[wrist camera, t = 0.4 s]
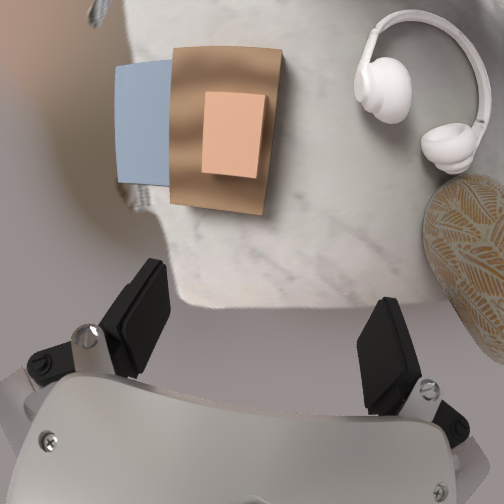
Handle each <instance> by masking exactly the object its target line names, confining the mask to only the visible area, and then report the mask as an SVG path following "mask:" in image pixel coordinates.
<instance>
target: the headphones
mask: <svg viewBox="0 0 504 504" xmlns="http://www.w3.org/2000/svg"><path fill="white" fill-rule="evenodd" d="M404 21H419V22H424V23H428V24H431V25H433V26H436V27H438V28H440V29H442V30H443V31H445V32H446V33H448V34H449V35H450V36H452V37H453V38H454V39H455V40H456V41H457V43H458V44H459V45H460V46H461V47H462V49H463V50H464V52H465V53H466V55H467V57H468V59H469V61H470V63H471V65H472V67H473V70H474V73H475V76H476V80H477V84H478V91H479V107H478V113H477V117H476V120H475V122H474V123H473V126H472V129H471V128H470V127H469V126H468V125H467V124H463V123H451V124H446V125H442V126H439V127H436V128H434V129H432V130H430V131H429V132H427V133H426V134H425V135H424V136H423V137H422V138H421V148H422V151H423V153H424V155H425V156H426V158H427V159H428V160H429V161H431V162H433V163H435V166H436V167H437V168H438V169H440V170H442V171H445V172H446V173H448V174H458V173H462V172H464V171H466V170H467V169H468V168H469V166H470V164H471V163H472V162H473V160H474V154H475V152H476V150H477V148H478V146H479V144H480V142H481V139H482V137H483V135H484V133H485V131H486V129H487V125H488V122H489V119H490V114H491V105H492V97H491V88H490V82H489V78H488V75H487V71H486V69H485V66H484V64H483V61H482V59H481V57H480V55H479V53H478V52H477V50H476V48H475V47H474V45H473V44H472V43H471V42H470V40H469V39H468V38H467V37H466V36H465V35H464V34H463V33H462V32H461V31H460V30H459V29H458V28H457V27H456V26H454V25H453V24H452V23H451V22H449V21H448V20H446V19H444V18H442V17H440V16H438V15H436V14H433V13H430V12H427V11H422V10H413V9H411V10H401V11H397V12H394V13H392V14H390V15H388V16H386V17H385V18H383V19H382V20H381V21H380V22H378V23H377V25H376V26H375V27H374V28H373V29H372V31H371V32H370V34H369V35H368V38H367V39H368V41H367V43H366V46H365V49H364V52H363V54H362V57H361V60H360V62H359V65H358V68H357V71H356V74H355V79H354V91H355V96H356V99H357V101H358V102H359V103H361V104H362V106H363V108H364V109H365V110H366V111H367V112H369V113H373V115H374V116H375V117H376V118H377V119H379V120H380V121H382V122H385V123H389V124H397V123H399V122H401V121H403V120H404V119H405V118H406V117H407V115H408V113H409V110H410V107H411V103H412V83H411V79H410V75H409V73H408V71H407V69H406V67H405V66H404V65H403V64H402V63H401V62H399V61H398V60H396V59H393V58H389V57H382V58H378V59H376V60H375V61H374V62H372V63H369V62H370V59H371V56H372V53H373V50H374V47H375V44H376V42H377V39H378V36H379V33H382V32H383V31H384V30H386V29H387V28H388V27H390V26H391V25H394V24H396V23H399V22H404Z"/></svg>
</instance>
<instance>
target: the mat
mask: <svg viewBox="0 0 504 504" xmlns="http://www.w3.org/2000/svg"><path fill="white" fill-rule="evenodd" d="M171 73H172V60H160V61H151V62H143V63H136V64H129V65H123V66H117V67H116V75H115V142H116V159H117V170H118V182H121V183H137V184H151V185H164V186H170V185H169V113H170V89H171Z"/></svg>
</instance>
